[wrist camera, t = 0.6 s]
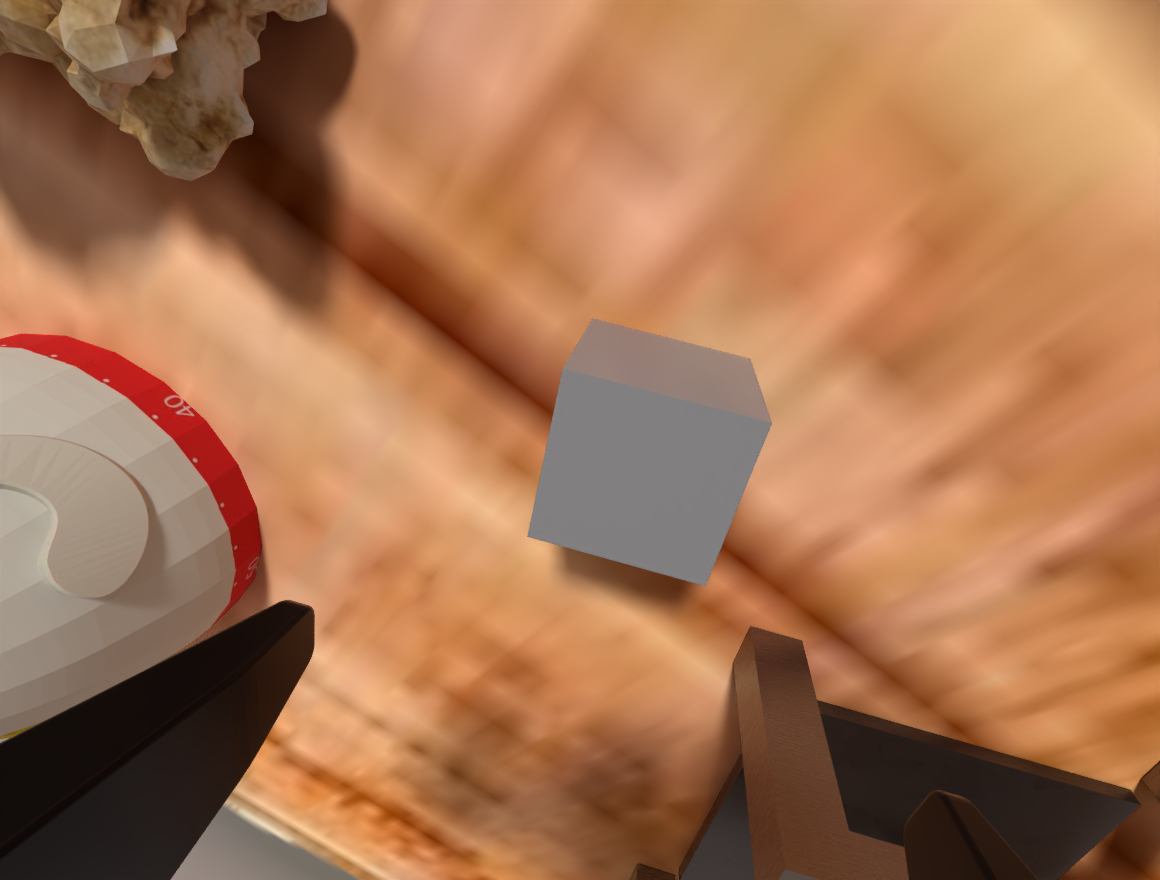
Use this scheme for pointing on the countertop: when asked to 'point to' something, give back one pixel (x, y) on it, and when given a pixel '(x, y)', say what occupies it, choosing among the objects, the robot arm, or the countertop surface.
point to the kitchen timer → (106, 525)
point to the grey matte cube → (649, 451)
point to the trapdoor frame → (871, 788)
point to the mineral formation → (155, 65)
